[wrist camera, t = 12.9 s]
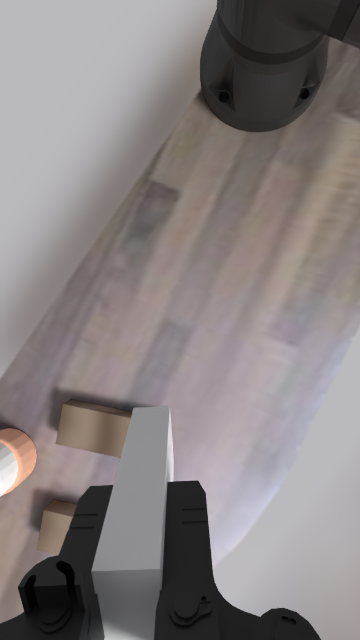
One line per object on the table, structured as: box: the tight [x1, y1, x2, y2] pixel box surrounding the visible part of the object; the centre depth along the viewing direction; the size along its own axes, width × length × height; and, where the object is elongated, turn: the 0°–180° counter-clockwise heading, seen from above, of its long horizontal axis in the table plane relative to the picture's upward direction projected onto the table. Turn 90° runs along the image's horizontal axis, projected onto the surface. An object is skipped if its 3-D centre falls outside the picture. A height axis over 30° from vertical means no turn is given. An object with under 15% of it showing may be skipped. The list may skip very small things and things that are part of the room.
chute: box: [37, 399, 132, 555], centre depth 41 cm, size 13×18×2 cm
